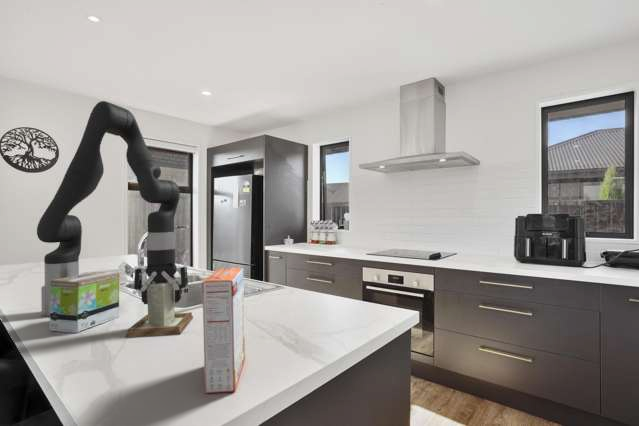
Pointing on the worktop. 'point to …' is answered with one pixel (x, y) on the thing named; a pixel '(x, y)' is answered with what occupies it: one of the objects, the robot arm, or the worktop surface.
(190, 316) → the brown wooden picture frame
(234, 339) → the cracker box
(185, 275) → the robot arm
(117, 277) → the tea box
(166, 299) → the skincare box
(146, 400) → the worktop surface
